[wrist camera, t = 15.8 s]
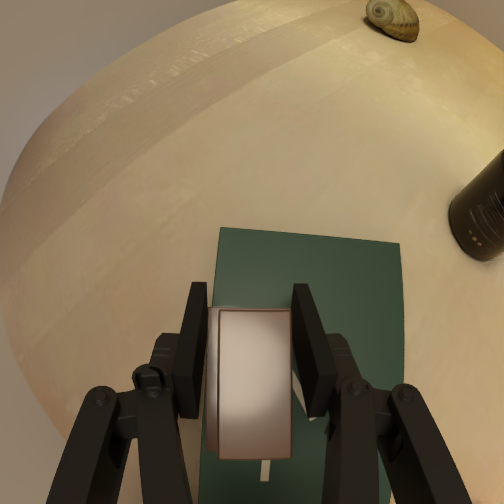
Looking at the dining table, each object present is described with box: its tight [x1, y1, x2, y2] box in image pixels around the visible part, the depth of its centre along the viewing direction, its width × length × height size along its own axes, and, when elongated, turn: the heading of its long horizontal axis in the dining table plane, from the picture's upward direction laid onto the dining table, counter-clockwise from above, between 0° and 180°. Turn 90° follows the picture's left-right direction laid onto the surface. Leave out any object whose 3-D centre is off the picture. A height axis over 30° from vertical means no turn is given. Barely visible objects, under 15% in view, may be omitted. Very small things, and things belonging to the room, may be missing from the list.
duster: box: [206, 307, 293, 460], centre depth 14 cm, size 8×4×8 cm, turn 0°
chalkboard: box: [198, 227, 404, 504], centre depth 19 cm, size 13×20×1 cm, turn 176°
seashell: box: [366, 0, 419, 42], centre depth 34 cm, size 10×7×8 cm
